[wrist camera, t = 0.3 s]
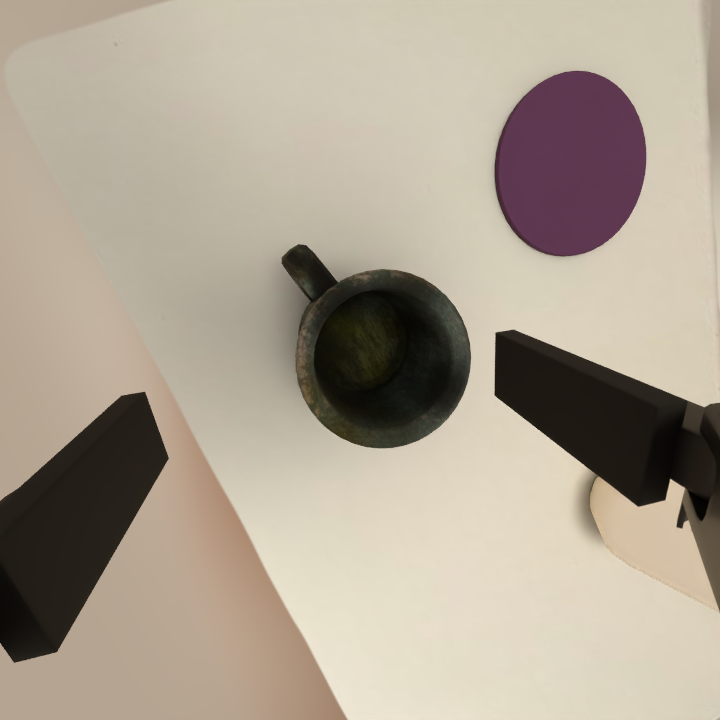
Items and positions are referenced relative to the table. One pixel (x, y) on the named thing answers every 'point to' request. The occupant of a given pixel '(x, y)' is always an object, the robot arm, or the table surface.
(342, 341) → the mug
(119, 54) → the table surface
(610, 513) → the cup
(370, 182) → the table surface
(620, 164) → the place mat
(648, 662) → the table surface
